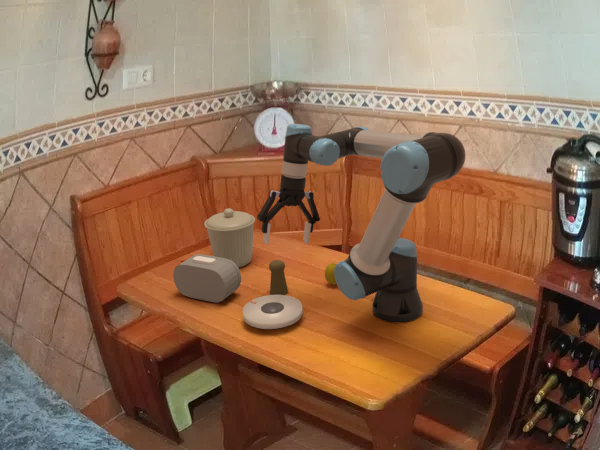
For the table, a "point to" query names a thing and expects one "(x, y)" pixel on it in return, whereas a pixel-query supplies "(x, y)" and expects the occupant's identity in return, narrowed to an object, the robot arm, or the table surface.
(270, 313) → the turntable
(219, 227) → the canister
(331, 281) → the lemon
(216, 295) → the alarm clock
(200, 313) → the table surface
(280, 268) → the cork
